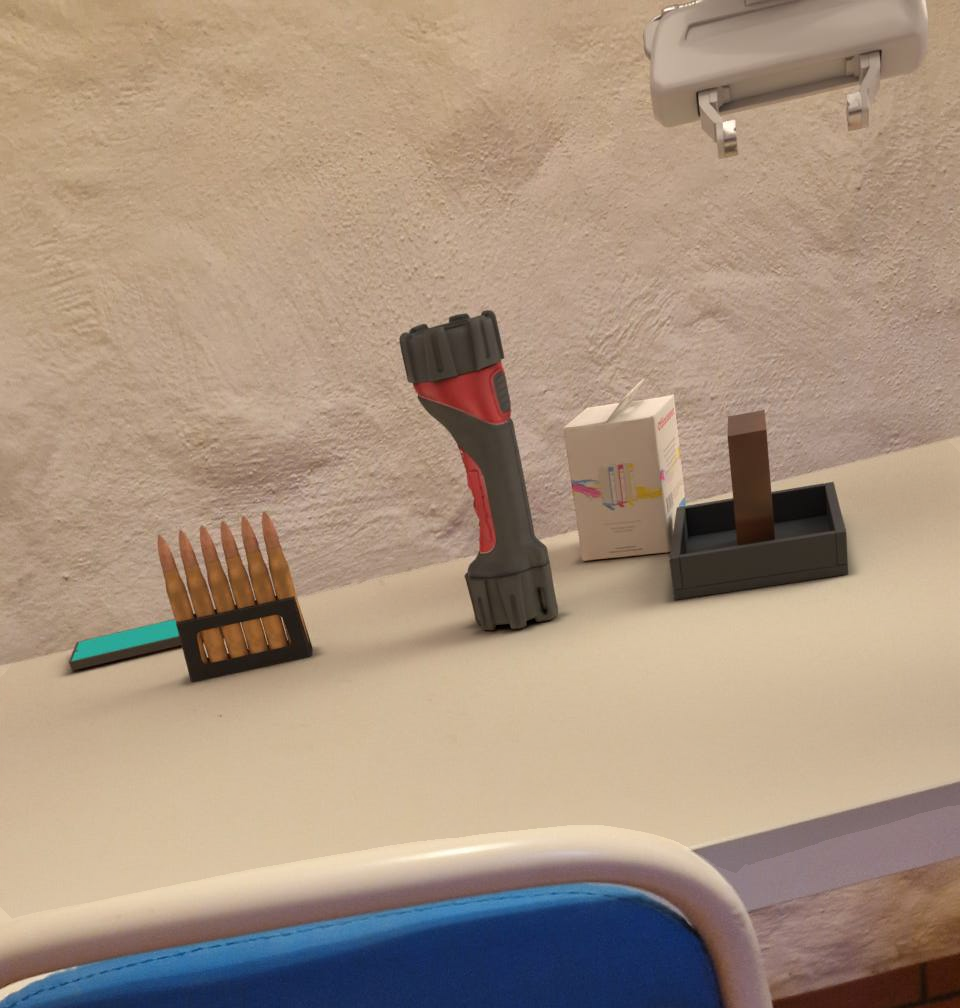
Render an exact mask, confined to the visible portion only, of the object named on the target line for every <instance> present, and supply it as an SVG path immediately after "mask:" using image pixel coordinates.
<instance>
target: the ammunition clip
mask: <svg viewBox="0 0 960 1008" xmlns="http://www.w3.org/2000/svg"><path fill="white" fill-rule="evenodd" d="M240 527H241V529H240V530H241V537H242V543H243V547H244V552H245V557H246V561H247V569H246V568H245V567H246V566H245V565H244V563H243V560H242V556H241V554H240V552H239V551H240V550H239V548H238V545H237V543H236V540H235V538H234V537H235V536H234V535H233V533H232V531H231V528H230V527H229V526H228V524H227V523H226V522H225V520H221V522H220V540H221V541H220V542H221V545H222V550H223V554H224V559H225V563H226V568H227V575H226V573H225V570H224V569H223V566H222V562H221V559H220V558H219V554H218V551H217V549H216V545H215V543H214V540H213V539H212V537H211V535H210V533H209V531H208V530H207V528H206V527H205V526H204V525H202V524H201V525H200V527H199V542H200V548H201V554H202V558H203V561H204V567H205V569H206V575H207V576H206V577H207V578H205V577H204V574H203V573H202V571H201V567H200V564H199V563H198V560H197V559H198V558H197V556H196V554H195V550H194V548H193V545H192V543H191V542H190V539H189V538H188V536H187V535H186V533H185V532H184V531H183V530H182V529H180V530H179V531H178V548H179V553H180V557H181V561H182V565H183V570H184V574H185V580H186V585H185V583H184V580H183V579H182V577H181V574H180V572H179V569H178V566H177V564H176V560H175V558H174V555H173V553H172V551H171V549H170V546H169V544H168V543H167V541H166V540H165V538H164V537H163V536H162V535H161V534H158V535H157V553H158V557H159V562H160V566H161V569H162V575H163V578H164V581H165V583H164V584H165V590H166V595H167V598H168V601H169V604H170V608H171V611H172V614H173V617H174V618H173V619H175V621H176V626H177V630H178V633H179V637H180V641H181V645H180V646H181V648H182V653H183V656H184V660H185V664H186V668H187V670H188V674H189V680H190V682H192V683H193V682H198V681H202V680H208V679H211V678H217V677H221V676H226V675H231V674H235V673H240V672H244V671H248V670H253V669H257V668H263V667H267V666H272V665H276V664H282V663H286V662H290V661H295V660H300V659H304V658H308V657H311V656H312V655H313V650H314V647H313V644H312V641H311V638H310V635H309V632H308V629H307V625H306V622H305V619H304V616H303V613H302V609H301V606H300V603H299V599H298V596H297V593H296V589H295V585H294V581H293V577H292V573H291V570H290V566H289V563H288V561H287V558H286V556H285V553H284V552H283V548H282V545H281V541H280V539H279V535H278V532H277V529H276V527H275V525H274V523H273V521H272V519H271V517H270V515H269V514H268V512H267V511H265V510H264V511H262V515H261V527H262V536H263V541H264V545H265V550H266V555H267V561H268V566H267V564H266V562H265V559H264V557H263V554H262V551H261V549H260V545H259V542H258V539H257V536H256V534H255V531H254V529H253V526H252V525H251V523H250V522H249V520H248V518H247V517H246V516H245V515H242V517H241V523H240ZM247 571H248V572H247ZM206 579H207V581H206ZM207 583H208V584H207ZM186 587H187V588H186ZM208 587H209V588H208ZM187 590H188V591H187ZM210 593H211V594H210ZM190 600H191V601H190ZM220 627H221V629H222V632H223V635H222V633H221V630H220ZM200 631H201V635H202V638H203V640H202V639H201V636H200V633H199V632H200Z"/></svg>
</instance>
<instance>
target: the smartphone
mask: <svg viewBox="0 0 960 1008" xmlns="http://www.w3.org/2000/svg"><path fill="white" fill-rule="evenodd" d="M220 630H221V633H222V636H223V632H222V629H221V627H220ZM199 633H200V636H201V639H202V641H203V638H202V635H201V631H200V632H199ZM178 646H182V645H181V641H180V637H179V633H178V630H177V626H176V621H175V618H173V619H169V620H164V621H161V622H156V623H152V624H147V625H143V626H139V627H135V628H130V629H126V630H121V631H118V632H113V633H109V634H104V635H101V636H97V637H91V638H88V639H84V640H79V641H77V642H76V643H75V645H74V648H73V650H72V652H71V655H70V658H69V660H68V664H69V667H70V669H71V671H75V670H76V671H77V670H80V669H85V668H89V667H93V666H97V665H101V664H106V663H110V662H114V661H119V660H123V659H127V658H131V657H135V656H141V655H144V654H148V653H152V652H158V651H162V650H166V649H170V648H174V647H178Z"/></svg>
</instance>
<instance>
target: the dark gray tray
mask: <svg viewBox="0 0 960 1008" xmlns="http://www.w3.org/2000/svg"><path fill="white" fill-rule="evenodd" d="M771 493H772V506H773V519H774V532H775V540H771V541H765V542H759V543H752V544H746V545H739V546H738V545H737V534H736V524H735V513H734V502H733V497H732V498H726V499H719V500H714V501H713V500H712V501H707V502H700V503H694V504H689V505H686V507H685V506H683V507H677V509H676V516H675V524H674V531H673V538H672V546H671V551H670V552H669V553H670V554H669V567H670V575H671V576H670V577H671V584H672V594H673V600H674V601H678V600H685V599H693V598H698V597H704V596H710V595H711V596H712V595H718V594H724V593H731V592H738V591H744V590H751V589H758V588H764V587H771V586H778V585H784V584H793V583H797V582H804V581H805V582H807V581H812V580H819V579H825V578H831V577H833V578H834V577H839V576H845V575H849V562H848V561H849V559H848V558H849V557H848V542H847V541H848V537H847V530H846V525H845V523H844V518H843V514H842V510H841V506H840V501H839V498H838V494H837V490H836V486H835V482H834V481H828V482H825V483H823V482H822V483H816V484H810V485H804V486H798V487H794V488H793V487H792V488H785V489H780V490H774V491H771Z"/></svg>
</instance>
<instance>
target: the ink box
mask: <svg viewBox="0 0 960 1008" xmlns="http://www.w3.org/2000/svg"><path fill="white" fill-rule="evenodd" d="M644 381H645V378H642V379H641V380H640V381H639V382H637V384H635V386H634V387H633V388H632V389H630V391H629V392H628V393H627V394H625V396H624V397H623V398H622V399H621V400H620V402H615V403H607V404H603V405H594V406H589V407H586V408H585V409H583V410H582V411H581V412H580V413H579V414H577V415H576V417H574V418H573V419H572V420H571V421H569V422H568V423H567V424H566V425H565V426H564V427H563V428H562V431H563V435H564V443H565V449H566V458H567V463H568V469H569V470H568V471H569V477H570V482H571V483H570V484H571V490H572V498H573V505H574V511H575V518H576V519H575V520H576V527H577V532H578V540H579V546H580V553H581V560H582V561H583V562H587V561H594V560H603V559H614V558H625V557H632V556H633V557H634V556H644V555H652V554H663V553H671V546H672V538H673V531H674V524H675V516H676V509H677V507H683V506H685V507H686V506H687V505H686V495H685V486H684V476H683V468H682V467H683V466H682V459H681V449H680V439H679V431H678V430H679V429H678V422H677V421H678V420H677V412H676V411H677V410H676V402H675V394H674V393H672V394H669V395H664V396H663V395H662V396H658V397H652V398H646V399H641V400H634V401H633V399H634V397H635V396H636V395H637V392H638V390H639V389H640V387H641V386H642V384H643V383H644Z"/></svg>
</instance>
